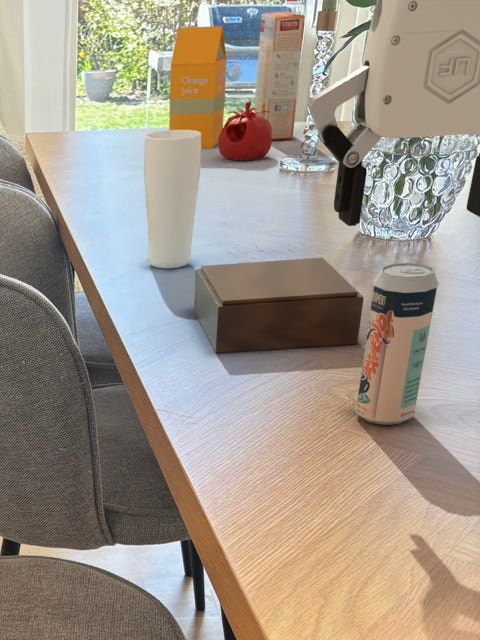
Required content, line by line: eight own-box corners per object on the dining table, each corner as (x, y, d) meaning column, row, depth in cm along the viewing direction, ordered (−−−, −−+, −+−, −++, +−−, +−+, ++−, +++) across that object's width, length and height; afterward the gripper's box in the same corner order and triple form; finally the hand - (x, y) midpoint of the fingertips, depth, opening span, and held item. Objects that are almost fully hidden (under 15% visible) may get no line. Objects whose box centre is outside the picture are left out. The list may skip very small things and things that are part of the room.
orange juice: (180, 140, 202) (183, 26, 190) (222, 141, 198) (229, 24, 187) (168, 147, 196) (171, 29, 184) (211, 148, 192) (217, 27, 181)
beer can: (355, 403, 86) (376, 260, 79) (414, 407, 84) (440, 262, 78) (352, 425, 82) (373, 277, 75) (413, 429, 81) (441, 279, 74)
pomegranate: (255, 150, 187) (259, 95, 182) (281, 158, 179) (286, 100, 174) (207, 156, 185) (209, 100, 180) (230, 165, 177) (234, 106, 172)
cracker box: (294, 139, 194) (306, 13, 182) (263, 141, 194) (273, 16, 182) (281, 128, 205) (291, 9, 193) (251, 130, 206) (260, 12, 194)
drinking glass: (140, 258, 129) (142, 131, 121) (192, 255, 129) (198, 127, 120) (144, 273, 124) (147, 140, 115) (199, 269, 123) (205, 136, 115)
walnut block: (320, 302, 109) (326, 255, 107) (357, 344, 98) (364, 292, 95) (193, 311, 110) (195, 264, 107) (215, 353, 99) (218, 302, 96)
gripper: (343, -53, 62) (309, 236, 71) (625, -71, 61) (553, 222, 71) (312, -51, 68) (285, 214, 78) (568, -68, 67) (509, 201, 77)
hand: (413, 218), depth 74 cm, fingers open, 9 cm apart
